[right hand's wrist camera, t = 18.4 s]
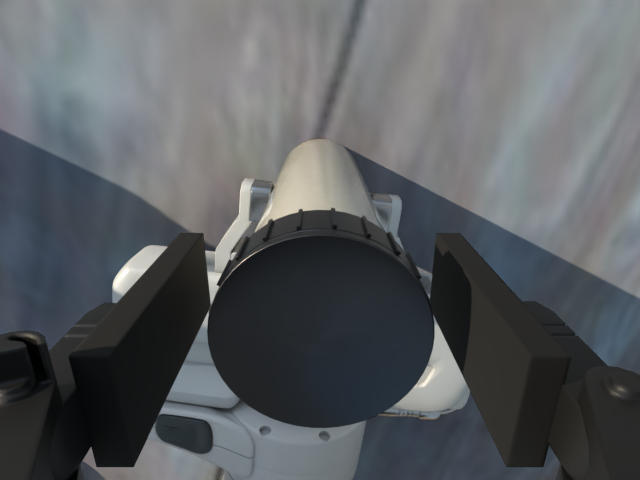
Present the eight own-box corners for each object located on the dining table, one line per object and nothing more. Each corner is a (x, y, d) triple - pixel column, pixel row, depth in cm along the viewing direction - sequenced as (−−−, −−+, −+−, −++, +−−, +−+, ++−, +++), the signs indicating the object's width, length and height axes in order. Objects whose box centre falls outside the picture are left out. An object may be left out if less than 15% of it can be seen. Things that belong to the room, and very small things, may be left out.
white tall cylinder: (336, 123, 26) (362, 197, 10) (373, 193, 27) (449, 357, 11) (266, 164, 27) (184, 293, 11) (305, 229, 28) (287, 428, 12)
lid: (191, 336, 13) (168, 380, 11) (274, 168, 11) (264, 186, 9) (357, 406, 14) (362, 458, 12) (459, 263, 12) (485, 297, 10)
